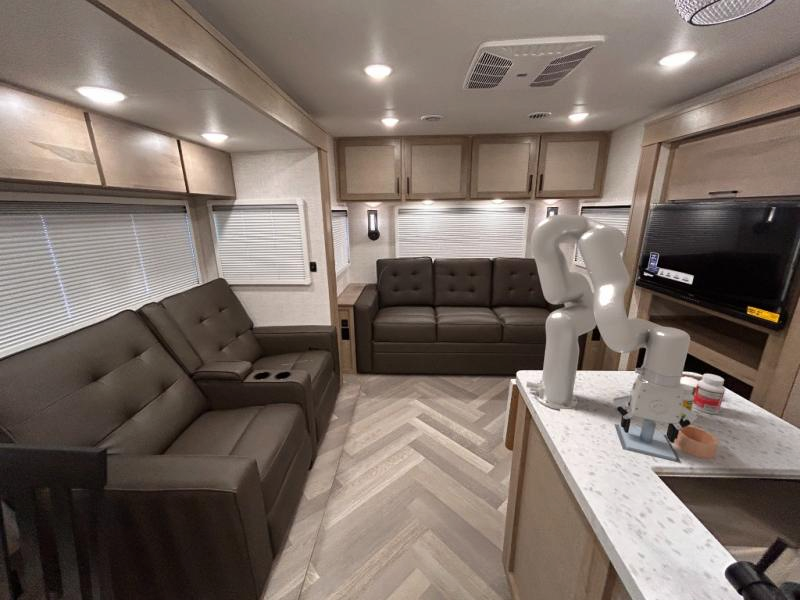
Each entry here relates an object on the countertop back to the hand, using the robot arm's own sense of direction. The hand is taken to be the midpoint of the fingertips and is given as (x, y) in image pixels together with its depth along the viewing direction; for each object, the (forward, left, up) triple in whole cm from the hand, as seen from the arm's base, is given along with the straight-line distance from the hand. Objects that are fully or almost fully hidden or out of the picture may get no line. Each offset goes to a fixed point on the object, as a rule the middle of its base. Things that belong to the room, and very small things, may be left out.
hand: (646, 434), depth 82 cm
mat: (0, 0, -3) cm, 3 cm away
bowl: (+11, +3, -3) cm, 12 cm away
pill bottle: (+22, +27, -3) cm, 35 cm away
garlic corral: (+22, +40, -3) cm, 46 cm away
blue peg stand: (0, 0, -2) cm, 2 cm away
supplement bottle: (+13, +20, -3) cm, 24 cm away
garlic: (+23, +41, -4) cm, 47 cm away
